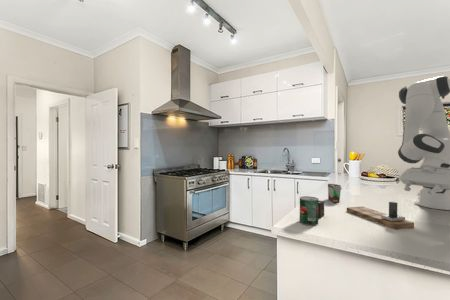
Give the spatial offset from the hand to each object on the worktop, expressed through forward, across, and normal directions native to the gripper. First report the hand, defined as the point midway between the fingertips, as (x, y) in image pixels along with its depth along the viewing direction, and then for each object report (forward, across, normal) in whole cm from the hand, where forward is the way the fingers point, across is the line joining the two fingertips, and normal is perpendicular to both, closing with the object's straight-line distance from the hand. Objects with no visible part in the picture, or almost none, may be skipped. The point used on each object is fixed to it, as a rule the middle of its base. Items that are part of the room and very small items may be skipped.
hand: (417, 192), depth 97 cm
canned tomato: (+42, -14, -22) cm, 49 cm away
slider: (+16, -3, 0) cm, 16 cm away
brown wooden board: (+17, -11, +2) cm, 20 cm away
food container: (+13, -43, +6) cm, 46 cm away
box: (+35, -22, -16) cm, 44 cm away
